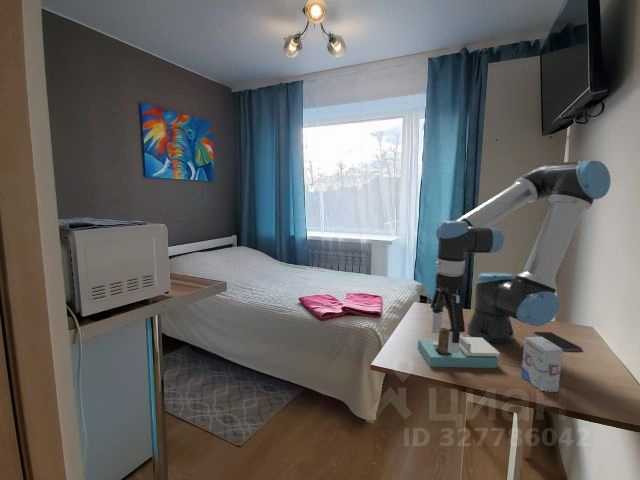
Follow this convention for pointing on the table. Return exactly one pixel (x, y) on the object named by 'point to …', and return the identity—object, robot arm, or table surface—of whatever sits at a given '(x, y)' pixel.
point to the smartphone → (559, 341)
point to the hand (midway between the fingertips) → (444, 341)
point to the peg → (443, 341)
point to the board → (453, 357)
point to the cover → (476, 347)
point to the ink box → (542, 363)
